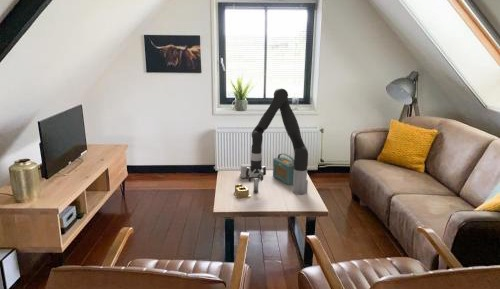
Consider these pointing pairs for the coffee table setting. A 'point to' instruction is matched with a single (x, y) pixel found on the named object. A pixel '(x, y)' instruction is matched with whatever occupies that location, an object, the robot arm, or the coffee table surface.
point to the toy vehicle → (243, 171)
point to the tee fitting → (241, 191)
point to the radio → (284, 169)
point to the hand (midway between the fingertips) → (255, 181)
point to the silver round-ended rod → (256, 185)
